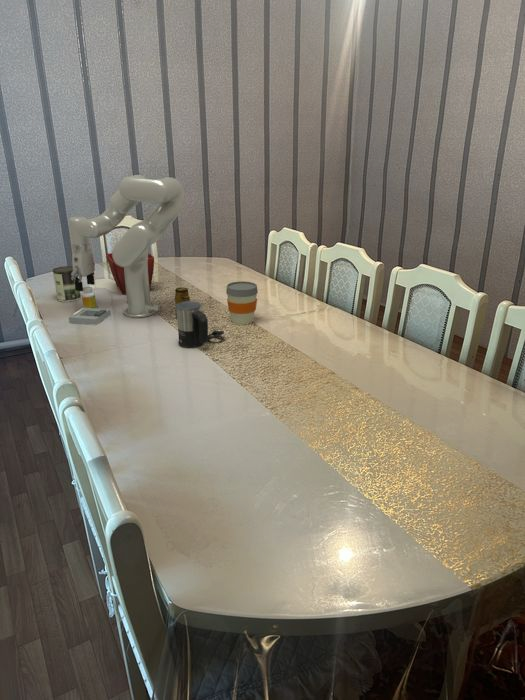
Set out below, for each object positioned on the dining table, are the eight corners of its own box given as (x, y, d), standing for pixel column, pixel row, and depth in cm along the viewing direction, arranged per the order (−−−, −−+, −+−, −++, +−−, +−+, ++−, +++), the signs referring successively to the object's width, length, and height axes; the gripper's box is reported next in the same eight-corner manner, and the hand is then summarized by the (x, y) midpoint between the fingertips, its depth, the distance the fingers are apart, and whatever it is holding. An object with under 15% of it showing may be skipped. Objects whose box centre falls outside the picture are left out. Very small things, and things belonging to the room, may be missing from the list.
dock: (110, 315, 218) (109, 307, 217) (96, 325, 207) (95, 317, 206) (84, 313, 220) (83, 305, 219) (69, 323, 209) (68, 315, 208)
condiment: (186, 312, 221) (184, 285, 216) (197, 317, 215) (195, 290, 210) (171, 316, 217) (169, 288, 212) (181, 321, 211) (179, 293, 206)
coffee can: (84, 295, 243) (79, 265, 237) (76, 302, 234) (71, 271, 228) (62, 295, 243) (57, 265, 238) (53, 302, 234) (48, 271, 228)
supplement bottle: (92, 311, 222) (89, 290, 218) (81, 311, 223) (78, 289, 219) (99, 307, 226) (96, 286, 223) (87, 307, 227) (84, 285, 224)
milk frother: (172, 345, 188) (169, 306, 182) (197, 331, 201) (195, 294, 195) (205, 352, 182) (203, 312, 176) (228, 337, 195) (227, 300, 189)
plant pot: (109, 287, 256) (105, 253, 249) (148, 282, 263) (145, 249, 256) (117, 297, 240) (112, 262, 233) (157, 292, 247) (154, 257, 240)
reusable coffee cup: (244, 328, 203) (244, 292, 197) (220, 322, 210) (219, 286, 204) (264, 320, 212) (264, 284, 206) (240, 313, 219) (239, 279, 213)
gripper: (78, 253, 205) (83, 294, 212) (99, 244, 221) (103, 282, 228) (61, 251, 207) (66, 292, 214) (83, 242, 222) (87, 281, 229)
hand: (85, 287), depth 221 cm, fingers open, 9 cm apart
